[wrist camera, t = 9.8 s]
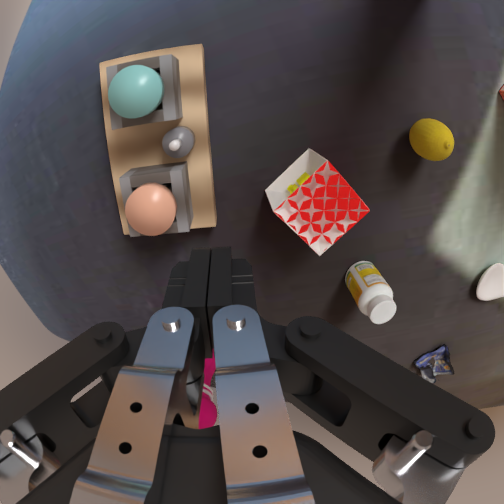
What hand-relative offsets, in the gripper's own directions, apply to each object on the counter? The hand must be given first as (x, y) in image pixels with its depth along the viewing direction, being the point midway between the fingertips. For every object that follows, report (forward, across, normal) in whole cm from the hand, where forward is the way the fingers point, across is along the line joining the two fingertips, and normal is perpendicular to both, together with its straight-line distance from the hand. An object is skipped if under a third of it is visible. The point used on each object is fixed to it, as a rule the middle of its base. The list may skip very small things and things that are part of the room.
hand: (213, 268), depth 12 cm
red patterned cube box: (+28, -10, +6) cm, 30 cm away
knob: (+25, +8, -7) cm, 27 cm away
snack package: (+27, -44, +46) cm, 70 cm away
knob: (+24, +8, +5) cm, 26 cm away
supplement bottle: (+27, -20, +20) cm, 39 cm away
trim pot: (+25, +5, -1) cm, 25 cm away
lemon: (+28, -26, -2) cm, 39 cm away
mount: (+28, +8, -1) cm, 29 cm away
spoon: (+28, -62, +28) cm, 74 cm away
